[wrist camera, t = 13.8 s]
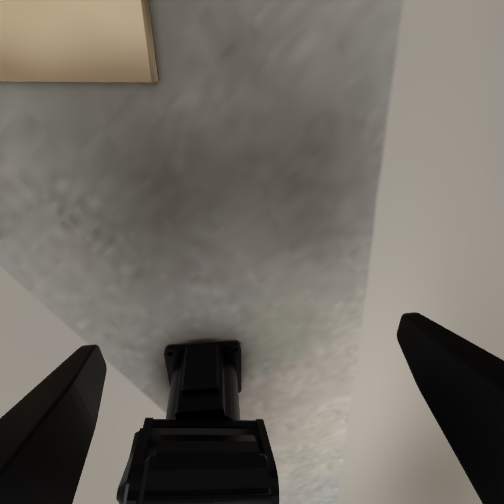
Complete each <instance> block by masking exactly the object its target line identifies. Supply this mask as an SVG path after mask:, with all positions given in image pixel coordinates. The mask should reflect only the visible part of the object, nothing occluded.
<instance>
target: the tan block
mask: <svg viewBox="0 0 504 504" xmlns="http://www.w3.org/2000/svg"><path fill="white" fill-rule="evenodd" d="M0 81H11V82H158V75H157V67H156V59H155V51H154V43H153V35H152V27H151V19H150V11H149V3H148V0H0Z"/></svg>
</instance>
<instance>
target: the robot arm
mask: <svg viewBox="0 0 504 504" xmlns="http://www.w3.org/2000/svg"><path fill="white" fill-rule="evenodd" d="M397 339H398V342H399V344H400V346H401V349H402V352H403V354H404V356H405V358H406V360H407V363H408V365H409V368H410V370H411V372H412V375H413V377H414V379H415V382H416V384H417V386H418V388H419V390H420V392H421V394H422V395H423V397H424V399H425V401H426V402H427V404H428V406H429V408H430V410H431V412H432V413H433V415H434V417H435V419H436V421H437V422H438V424H439V426H440V427H441V430H442V431H443V433H444V435H445V437H446V438H447V440H448V442H449V444H450V445H451V447H452V449H453V451H454V453H455V455H456V456H457V458H458V460H459V461H460V464H461V465H462V467H463V469H464V471H465V473H466V474H467V476H468V478H469V480H470V482H471V483H472V485H473V487H474V489H475V490H476V492H477V494H478V496H479V498H480V500H481V501H482V503H483V504H504V361H503V360H502V359H499V358H498V357H496V356H494V355H493V354H491V353H489V352H487V351H485V350H484V349H482V348H480V347H478V346H476V345H475V344H473V343H471V342H469V341H467V340H466V339H464V338H462V337H460V336H459V335H457V334H455V333H453V332H451V331H450V330H448V329H446V328H444V327H442V326H441V325H439V324H437V323H435V322H434V321H431V320H430V319H428V318H426V317H425V316H423V315H421V314H419V313H415V312H414V313H405V314H403V315H402V317H401V320H400V324H399V327H398V331H397ZM233 347H236V348H233ZM164 356H165V361H166V367H167V372H168V377H169V382H170V394H169V400H168V407H167V414H166V419H153V418H145V422H144V425H143V428H140V431H138V432H136V433H135V436H134V440H133V444H132V449H131V453H130V457H129V460H128V463H127V466H126V468H125V471H124V474H123V477H122V479H121V482H120V484H119V487H118V491H117V498H116V499H117V501H118V502H119V504H279V484H278V475H277V469H276V464H275V461H274V457H273V453H272V450H271V446H270V443H269V439H268V435H267V432H266V428H265V425H264V421H263V419H256V420H255V421H250V420H240V411H239V397H238V393H239V392H240V391H241V346H240V343H239V342H221V343H206V344H192V345H177V346H168V347H166V348H165V351H164ZM105 376H106V363H105V360H104V358H103V355H102V353H101V350H100V348H99V346H98V345H85V346H81V347H80V348H79V349H77V350H76V351H75V352H74V353H73V354H72V355H71V356H70V357H69V358H67V359H66V360H65V361H64V362H63V363H62V364H61V365H60V366H59V367H57V368H56V369H55V370H54V371H53V372H52V373H51V374H50V375H48V376H47V377H46V378H45V379H44V380H43V381H42V382H41V383H40V384H38V385H37V386H36V387H35V388H34V389H33V390H32V391H31V392H29V393H28V394H27V395H26V396H25V397H24V398H23V399H22V400H20V401H19V402H18V403H17V404H16V405H15V406H14V407H13V408H11V410H9V411H8V412H7V413H6V414H5V415H4V416H2V418H0V504H72V503H73V499H74V496H75V492H76V489H77V486H78V483H79V480H80V476H81V473H82V470H83V466H84V463H85V460H86V457H87V453H88V450H89V447H90V443H91V440H92V437H93V434H94V430H95V426H96V422H97V417H98V412H99V407H100V402H101V397H102V391H103V386H104V381H105Z"/></svg>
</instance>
